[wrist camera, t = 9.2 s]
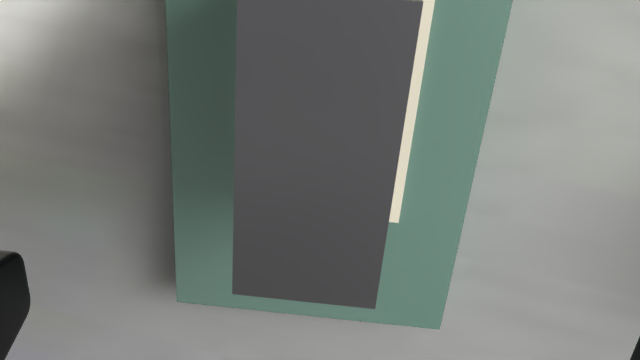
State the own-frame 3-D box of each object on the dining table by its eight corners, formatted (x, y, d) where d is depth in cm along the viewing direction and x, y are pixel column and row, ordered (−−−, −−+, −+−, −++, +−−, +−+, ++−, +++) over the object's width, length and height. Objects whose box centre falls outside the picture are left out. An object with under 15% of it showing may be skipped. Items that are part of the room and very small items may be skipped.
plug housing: (279, -42, 16) (237, -16, 10) (401, -30, 16) (423, 1, 10) (268, 183, 19) (232, 294, 13) (370, 193, 19) (375, 309, 13)
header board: (434, 304, 22) (440, 333, 21) (187, 278, 23) (175, 304, 21) (551, -249, 15) (574, -267, 13) (172, -280, 15) (151, -302, 13)
